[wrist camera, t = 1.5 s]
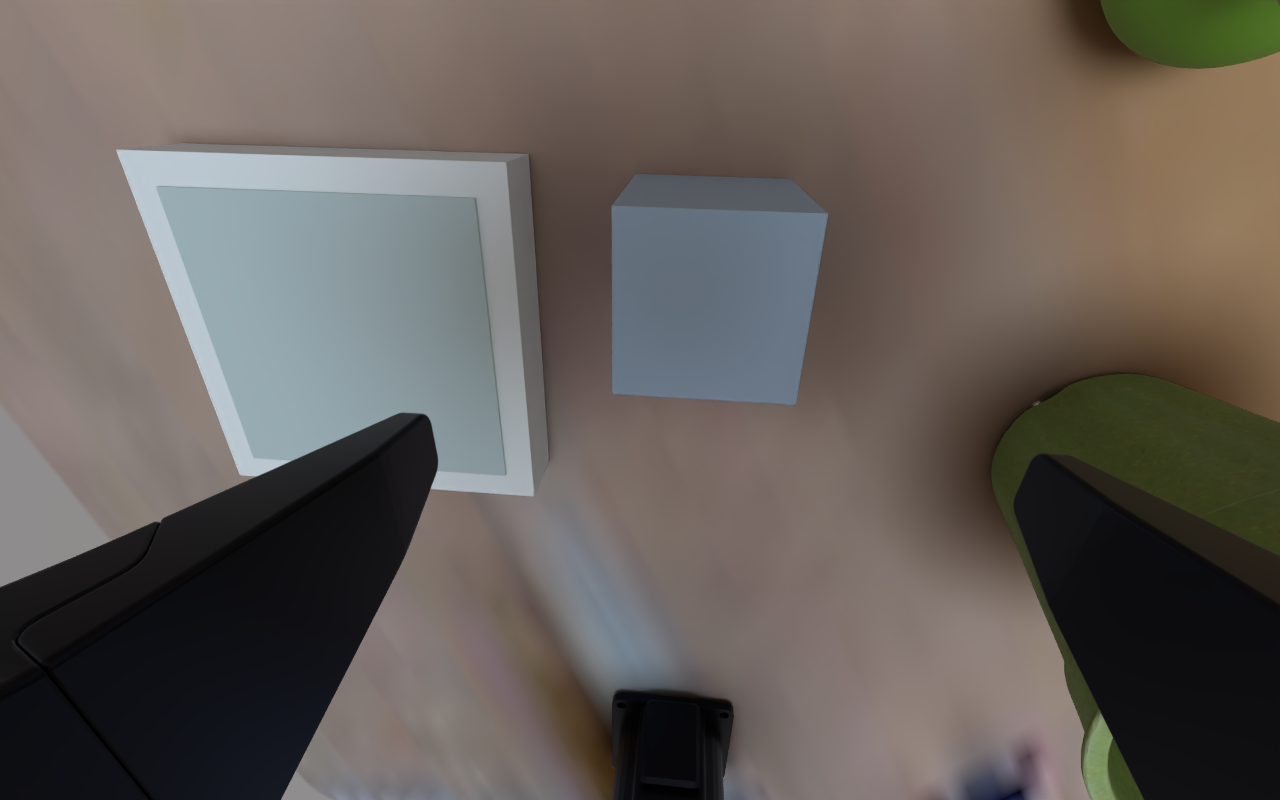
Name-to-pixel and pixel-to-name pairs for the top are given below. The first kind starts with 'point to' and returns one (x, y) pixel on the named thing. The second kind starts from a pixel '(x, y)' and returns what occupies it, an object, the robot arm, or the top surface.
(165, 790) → the robot arm
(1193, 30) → the snail figurine
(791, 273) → the block
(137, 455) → the top surface
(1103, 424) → the plant pot
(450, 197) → the base
